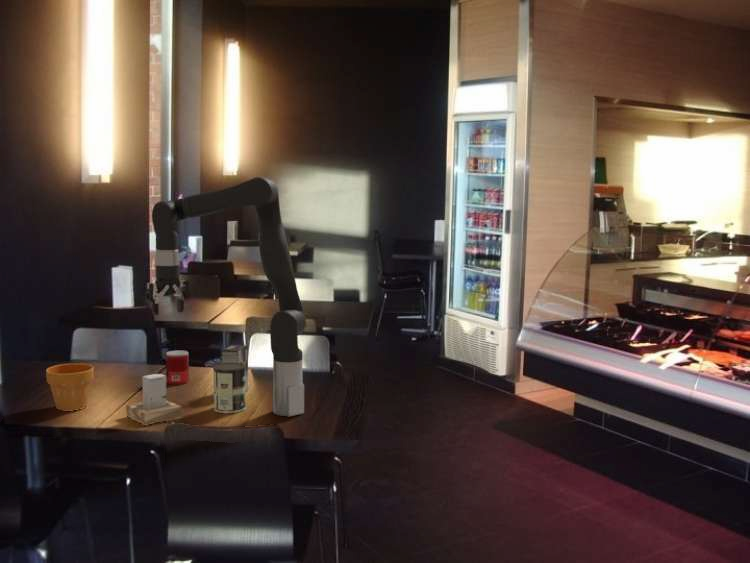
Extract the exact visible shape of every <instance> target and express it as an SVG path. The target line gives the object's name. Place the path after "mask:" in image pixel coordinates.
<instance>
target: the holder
mask: <svg viewBox="0 0 750 563" xmlns="http://www.w3.org/2000/svg"><path fill="white" fill-rule="evenodd" d="M125 407H126V417H127V416H129V417H131V418H134V419H136V420H138V421H140V422H142V423H144V424H149V423H155V422H160V421H161V423H163V422H162V421H166V422H169V421H170V422H171V421H174V420H179V419H182V406H181V405H179V404H176V403H174V402H172V401H169V400H167V399H166V407H162V408H157V409H152V410H147V411H145V410H143V401H139V402H134V403H130V404H126V405H125Z"/></svg>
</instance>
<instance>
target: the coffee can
mask: <svg viewBox="0 0 750 563" xmlns="http://www.w3.org/2000/svg"><path fill="white" fill-rule="evenodd" d="M245 368H246V366H245V365H244V364H240V363H222V362H221V363H219V364H215V365H213V366H212V370H213V411H214V412H216V413H220V414H236V413H242V412H244V411H245V410H246V406H247V405H246V403H247V402H246V392H245Z"/></svg>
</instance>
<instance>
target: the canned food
mask: <svg viewBox="0 0 750 563" xmlns="http://www.w3.org/2000/svg"><path fill="white" fill-rule="evenodd" d="M189 359H190V357H189V352H188V351H187V350H179V349H178V350H170V351H167V352H166V353H165V376H166V384H168V385H171V386H179V385H180V386H182V385H185V384H188V382H189V380H190V369H189V368H190V366H189V363H190V362H189V361H190V360H189Z"/></svg>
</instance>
